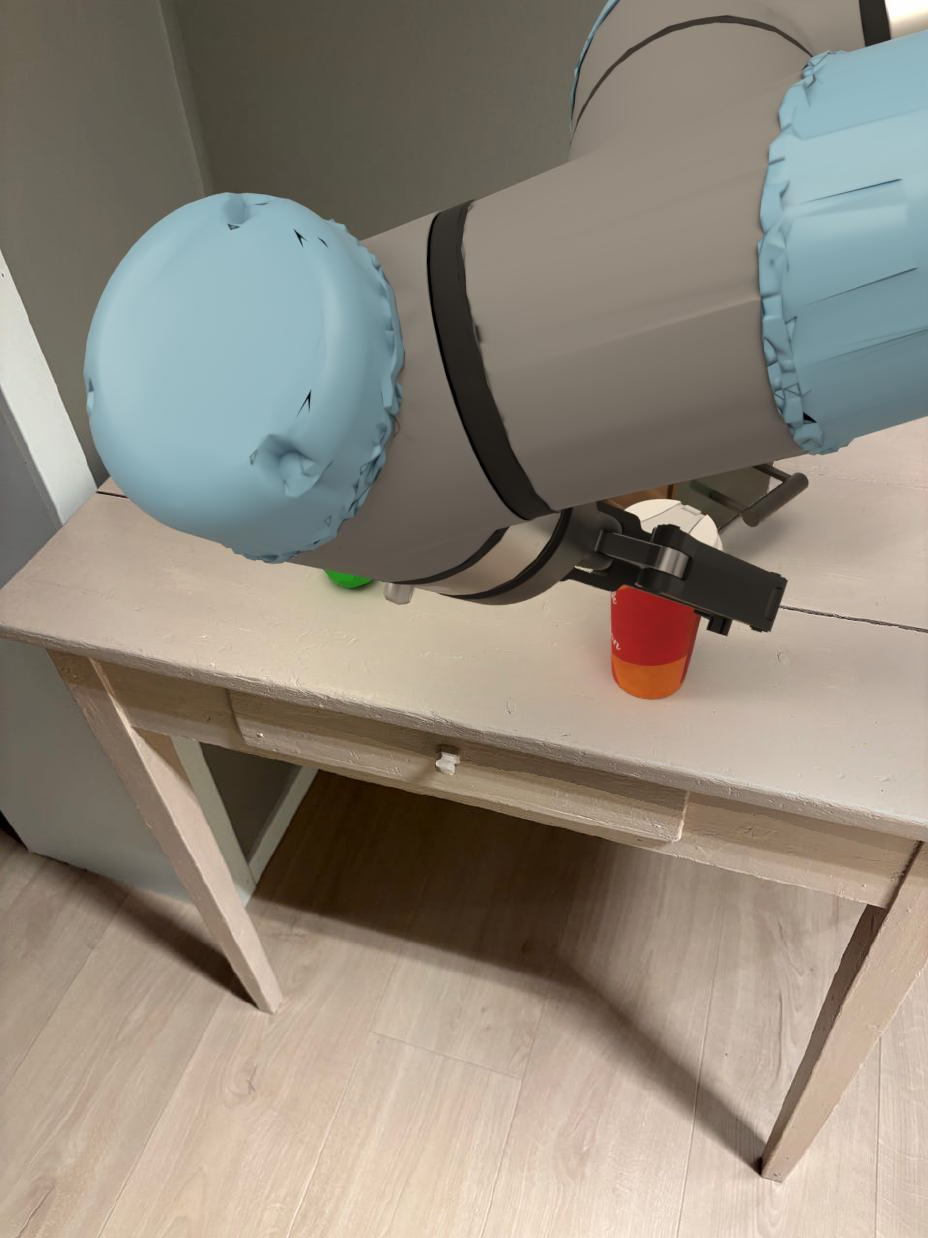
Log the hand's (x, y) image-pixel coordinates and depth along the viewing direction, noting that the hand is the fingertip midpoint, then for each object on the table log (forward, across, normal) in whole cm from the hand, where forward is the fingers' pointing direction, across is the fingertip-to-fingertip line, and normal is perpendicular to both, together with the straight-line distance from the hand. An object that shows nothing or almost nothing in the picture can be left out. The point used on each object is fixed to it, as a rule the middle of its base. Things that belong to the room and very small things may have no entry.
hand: (607, 563), depth 53 cm
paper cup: (+21, 0, -6) cm, 22 cm away
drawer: (+35, -4, +9) cm, 36 cm away
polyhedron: (+21, -26, -7) cm, 34 cm away
